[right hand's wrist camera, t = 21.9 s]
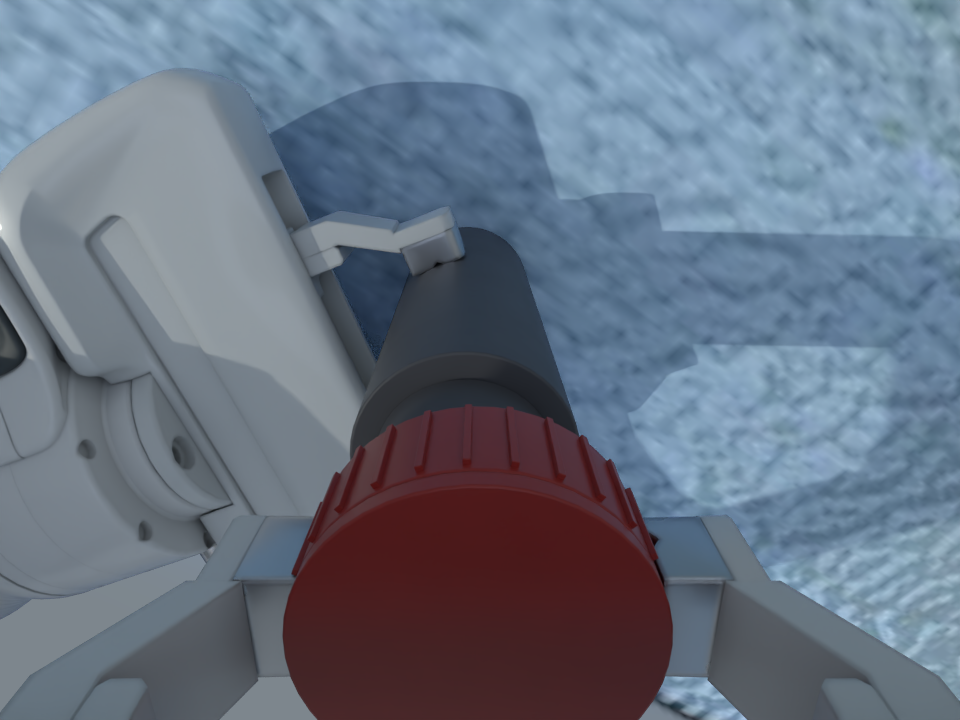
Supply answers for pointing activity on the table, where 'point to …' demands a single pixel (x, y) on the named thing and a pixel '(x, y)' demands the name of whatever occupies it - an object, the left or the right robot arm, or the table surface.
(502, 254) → the dark grey bottle
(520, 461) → the lid
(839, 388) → the table surface
